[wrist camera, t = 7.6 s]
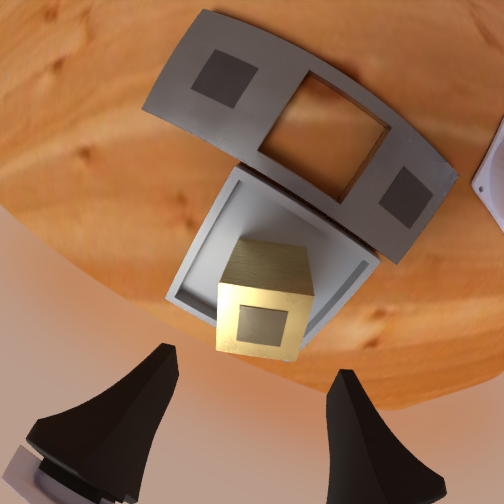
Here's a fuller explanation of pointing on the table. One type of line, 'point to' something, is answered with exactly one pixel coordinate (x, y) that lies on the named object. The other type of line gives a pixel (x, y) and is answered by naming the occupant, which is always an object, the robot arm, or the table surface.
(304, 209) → the parts tray
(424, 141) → the metal plate with cutout
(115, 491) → the robot arm
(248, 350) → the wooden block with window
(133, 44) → the table surface
